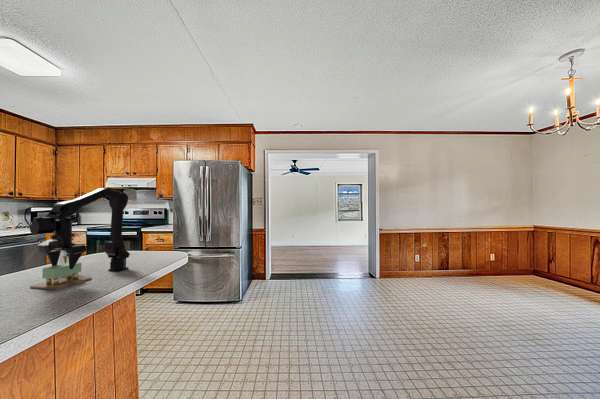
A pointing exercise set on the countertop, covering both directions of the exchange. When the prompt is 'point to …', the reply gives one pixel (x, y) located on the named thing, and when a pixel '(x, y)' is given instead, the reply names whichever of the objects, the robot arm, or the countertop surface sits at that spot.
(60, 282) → the walnut base plate
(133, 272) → the countertop surface
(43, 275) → the green board
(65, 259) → the beer glass
